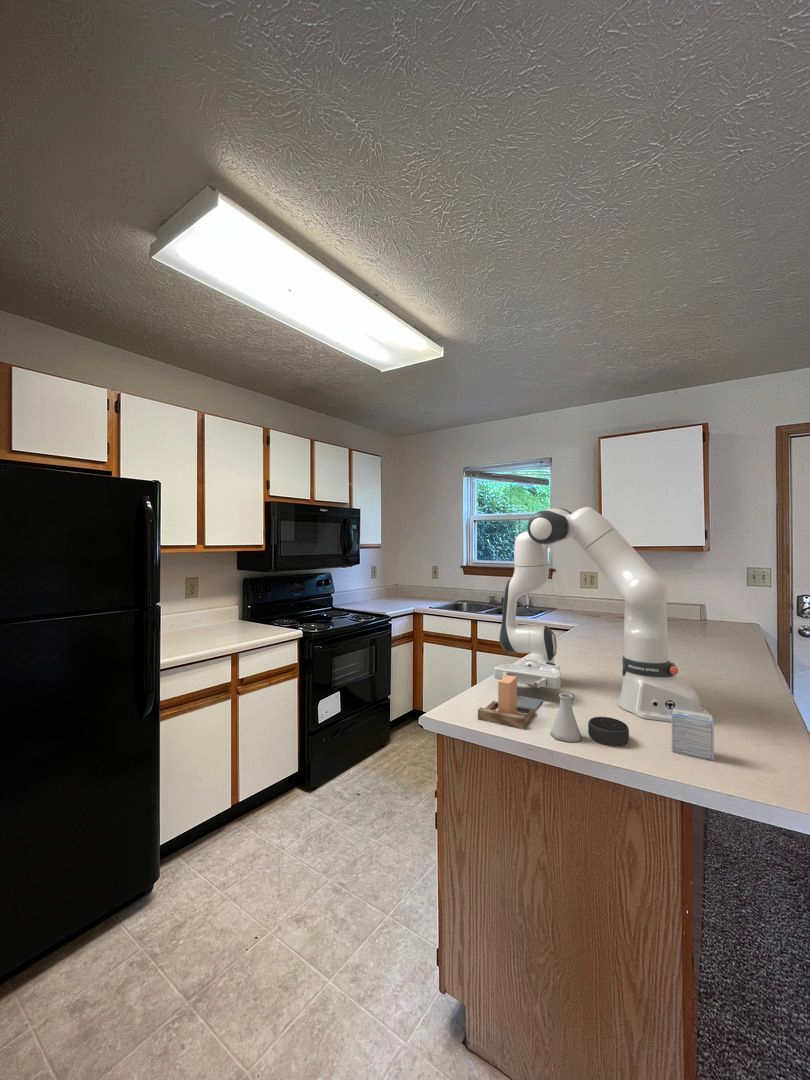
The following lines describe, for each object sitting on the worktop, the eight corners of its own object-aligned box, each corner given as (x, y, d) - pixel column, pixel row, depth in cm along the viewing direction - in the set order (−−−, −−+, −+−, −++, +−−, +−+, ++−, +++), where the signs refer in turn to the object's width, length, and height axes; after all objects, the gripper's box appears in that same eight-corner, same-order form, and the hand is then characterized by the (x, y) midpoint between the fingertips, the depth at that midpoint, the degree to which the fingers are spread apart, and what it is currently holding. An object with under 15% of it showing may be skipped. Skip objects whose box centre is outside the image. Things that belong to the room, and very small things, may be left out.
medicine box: (713, 753, 97) (712, 714, 98) (714, 761, 94) (714, 721, 94) (671, 745, 102) (671, 707, 102) (671, 752, 98) (671, 713, 98)
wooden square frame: (535, 713, 120) (535, 704, 120) (523, 729, 110) (523, 719, 110) (493, 705, 126) (493, 696, 126) (477, 719, 116) (477, 709, 116)
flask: (584, 744, 102) (584, 701, 102) (552, 741, 103) (552, 698, 103) (578, 731, 109) (578, 691, 109) (548, 729, 110) (548, 689, 110)
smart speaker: (601, 728, 111) (601, 713, 111) (636, 741, 103) (636, 724, 103) (580, 736, 106) (580, 720, 106) (615, 751, 99) (615, 733, 99)
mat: (542, 701, 130) (542, 700, 130) (535, 711, 122) (535, 709, 122) (506, 695, 135) (506, 693, 135) (497, 703, 128) (497, 702, 128)
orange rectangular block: (516, 713, 121) (517, 676, 121) (509, 721, 115) (509, 683, 115) (506, 710, 122) (506, 675, 122) (498, 719, 116) (498, 681, 116)
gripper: (501, 657, 146) (486, 666, 134) (565, 665, 136) (555, 676, 124) (501, 676, 146) (486, 687, 134) (564, 686, 135) (555, 699, 124)
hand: (520, 682), depth 129 cm, fingers open, 8 cm apart
